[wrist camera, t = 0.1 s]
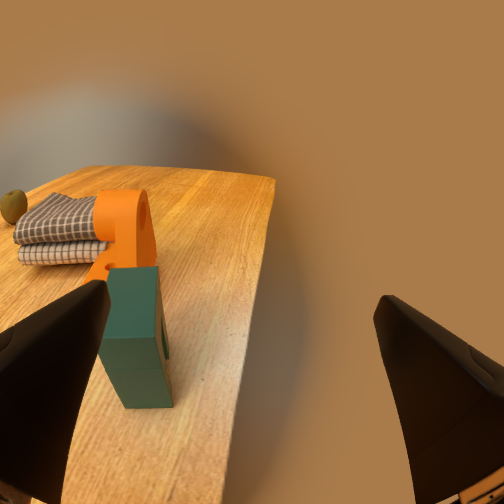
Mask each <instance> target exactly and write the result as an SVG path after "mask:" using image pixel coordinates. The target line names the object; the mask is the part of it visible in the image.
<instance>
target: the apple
mask: <svg viewBox="0 0 504 504" xmlns="http://www.w3.org/2000/svg"><path fill="white" fill-rule="evenodd" d="M27 205H28V203H27V197H26V195H25V193H24V192H23V191H21V190H14V191H11V192H9V193H7V194H5V195H4V196H3V197H2V199H1V202H0V211H1V214H2V216H3V218H4V219H5V220H6V221H7V222H8V223H10V224H15V223H17V221H18V220H19V219H20V218H21V216H22V215H24V214H25V213H26V212H27Z"/></svg>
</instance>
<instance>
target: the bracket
mask: <svg viewBox="0 0 504 504" xmlns="http://www.w3.org/2000/svg"><path fill="white" fill-rule="evenodd" d="M93 227H94V232H95V235H96V237H97V238H98V240H100V241H115V243H108V244H107V246H106V250H105V251H104V252H100V253H99V255H98V257H97V259H96V260H95V262H94V264H93V266H92V267H91V269H90V271H89V273H88V275H87V277H86V278H85V280H84V282H83V284H82V285H84V284H86V283H88V282H89V281H91V280H93V279H99V280H104V281H107V277H108V274H109V271H110V269H111V268H132V267H153V266H154V264H155V261H156V258H157V251H156V242H155V237H154V231H153V226H152V220H151V214H150V208H149V202H148V196H147V192H146V191H145V190H102V191H100V192H99V194H98V195H97V197H96V200H95V203H94V209H93Z"/></svg>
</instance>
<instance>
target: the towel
mask: <svg viewBox="0 0 504 504" xmlns="http://www.w3.org/2000/svg"><path fill="white" fill-rule="evenodd" d="M96 197H97V196H92V197H85V198H80V199H73V198H70V197H68V196H66V195H62V194H57V193H55V192H54V193H51V194H50V195H49V196H48V197H47V198H45V199H44V200H43V201H42V202H41V203H39V204H37V205H36V206H34V207H33V208H32V209H31V210H29V211H28V212H27V213H25V214H24V215H22V216H21V218H20V219H19V220H18V221H17V223H16V227H15V232H14V235H13V238H14V242H15V244H18V245H21V244H22V246H21V247H20V249H19V251H18V260H19V261H20V263H21V264H22V265H26V266H27V265H29V266H34V265H35V266H39V265H41V266H45V265H56V264H71V263H73V264H75V263H85V262H87V263H90V262H95V260H96V259H97V257H98V255H99V253H100V252H104V251H105V250H106V246H107V244H108V243H114V242H115V241H100V240H98V238H97V237H96V235H95V232H94V227H93V209H94V203H95V200H96Z"/></svg>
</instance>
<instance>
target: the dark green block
mask: <svg viewBox="0 0 504 504" xmlns="http://www.w3.org/2000/svg"><path fill="white" fill-rule="evenodd" d="M106 283H107V286H108V290H109V295H110V299H111V309H110V312H109V316H108V320H107V323H106V327H105V331H104V334H103V338H102V342H101V346H100V349H99V351H98V355H99V357H100V359H101V362H102V364H103V366H104V368H105V371H106V373H107V375H108V377H109V379H110V381H111V383H112V385H113V387H114V389H115V390H116V392H117V394H118V396H119V398H120V400H121V402H122V403H123V405H124V407H125V408H172V407H173V400H172V390H171V382H170V378H169V374H168V369H167V365H166V360H165V359H169V348H168V337H167V331H166V324H165V318H164V311H163V304H162V297H161V289H160V280H159V271H158V266H153V267H132V268H111V269H110V271H109V274H108V277H107V281H106Z"/></svg>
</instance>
